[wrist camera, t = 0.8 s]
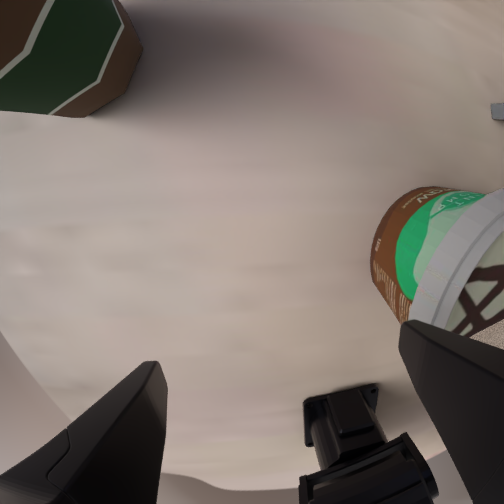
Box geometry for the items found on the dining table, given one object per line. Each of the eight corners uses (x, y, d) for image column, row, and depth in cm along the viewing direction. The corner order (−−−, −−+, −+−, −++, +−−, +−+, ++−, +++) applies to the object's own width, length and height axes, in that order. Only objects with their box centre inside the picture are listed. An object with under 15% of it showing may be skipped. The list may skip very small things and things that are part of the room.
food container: (469, 148, 19) (576, 164, 9) (483, 223, 21) (577, 267, 11) (325, 207, 20) (406, 264, 10) (353, 290, 21) (424, 382, 12)
